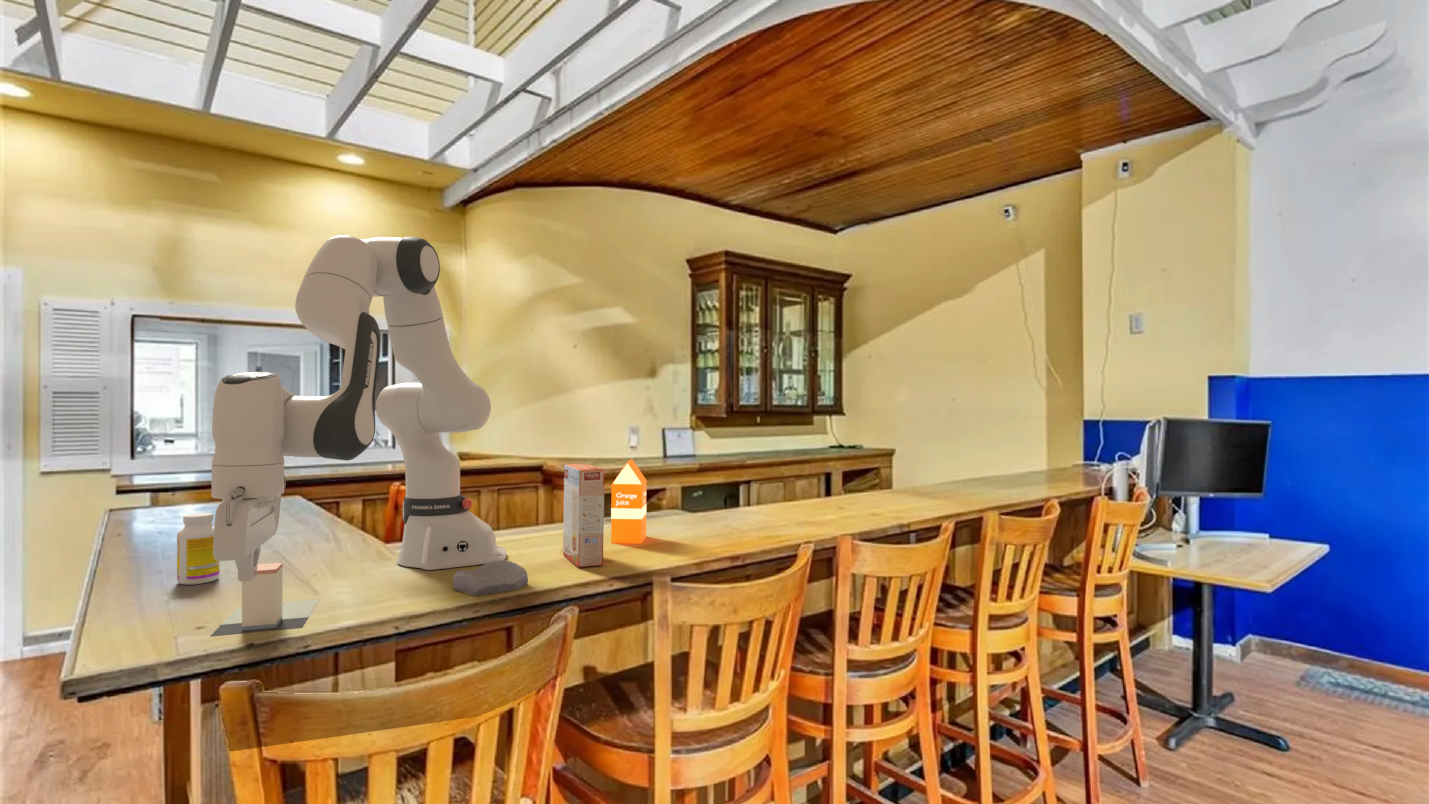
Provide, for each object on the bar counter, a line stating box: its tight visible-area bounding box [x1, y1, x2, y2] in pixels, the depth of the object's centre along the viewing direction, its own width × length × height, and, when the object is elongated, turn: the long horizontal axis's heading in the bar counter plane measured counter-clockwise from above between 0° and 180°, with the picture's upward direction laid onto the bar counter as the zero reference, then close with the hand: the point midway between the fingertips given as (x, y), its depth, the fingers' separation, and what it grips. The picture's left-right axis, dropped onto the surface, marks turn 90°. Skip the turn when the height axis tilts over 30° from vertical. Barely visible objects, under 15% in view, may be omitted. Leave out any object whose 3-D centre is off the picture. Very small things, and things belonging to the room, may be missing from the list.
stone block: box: [451, 560, 529, 597], centre depth 136 cm, size 12×5×10 cm
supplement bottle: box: [176, 512, 220, 586], centre depth 138 cm, size 7×7×13 cm
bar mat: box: [210, 599, 320, 637], centre depth 116 cm, size 12×16×1 cm
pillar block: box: [241, 562, 283, 631], centre depth 112 cm, size 4×4×9 cm
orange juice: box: [610, 458, 648, 544], centre depth 181 cm, size 8×9×20 cm
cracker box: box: [562, 463, 606, 568], centre depth 158 cm, size 14×6×21 cm, turn 25°
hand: (247, 579), depth 104 cm, fingers closed
